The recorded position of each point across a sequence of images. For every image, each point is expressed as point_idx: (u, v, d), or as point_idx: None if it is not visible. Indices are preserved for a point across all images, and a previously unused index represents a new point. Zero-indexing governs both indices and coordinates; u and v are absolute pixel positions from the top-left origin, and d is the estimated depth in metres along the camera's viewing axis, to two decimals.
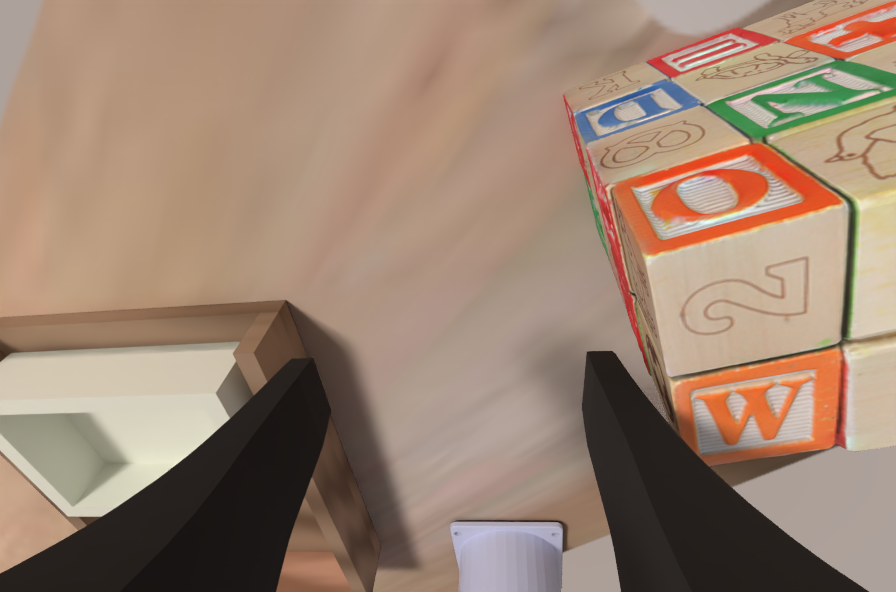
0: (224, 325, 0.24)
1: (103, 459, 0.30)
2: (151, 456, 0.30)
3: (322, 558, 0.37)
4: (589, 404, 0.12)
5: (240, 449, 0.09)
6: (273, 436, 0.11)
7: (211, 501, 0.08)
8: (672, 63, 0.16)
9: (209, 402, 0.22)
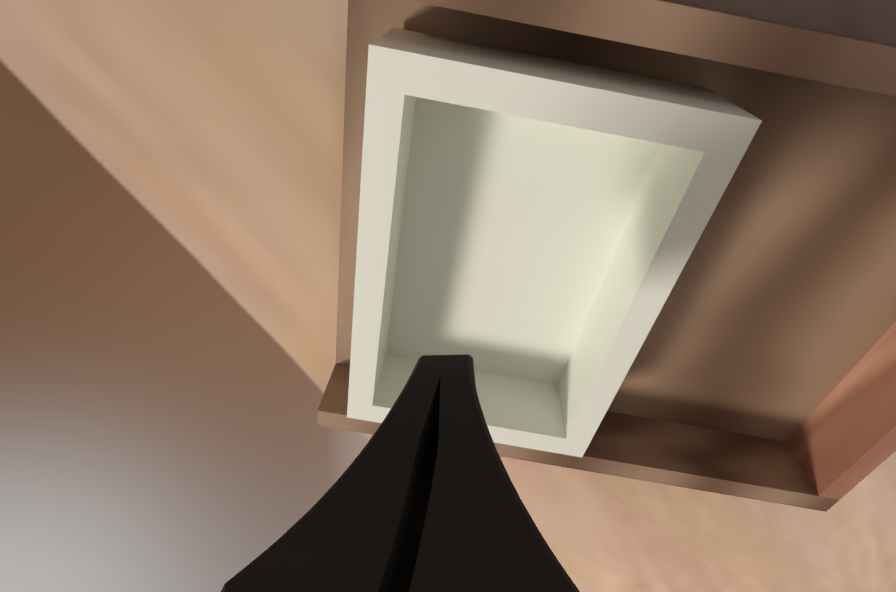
0: (365, 60, 0.16)
1: (549, 383, 0.22)
2: (567, 323, 0.20)
3: None
4: None
5: (414, 449, 0.09)
6: (429, 436, 0.10)
7: (406, 504, 0.08)
8: None
9: (391, 74, 0.12)
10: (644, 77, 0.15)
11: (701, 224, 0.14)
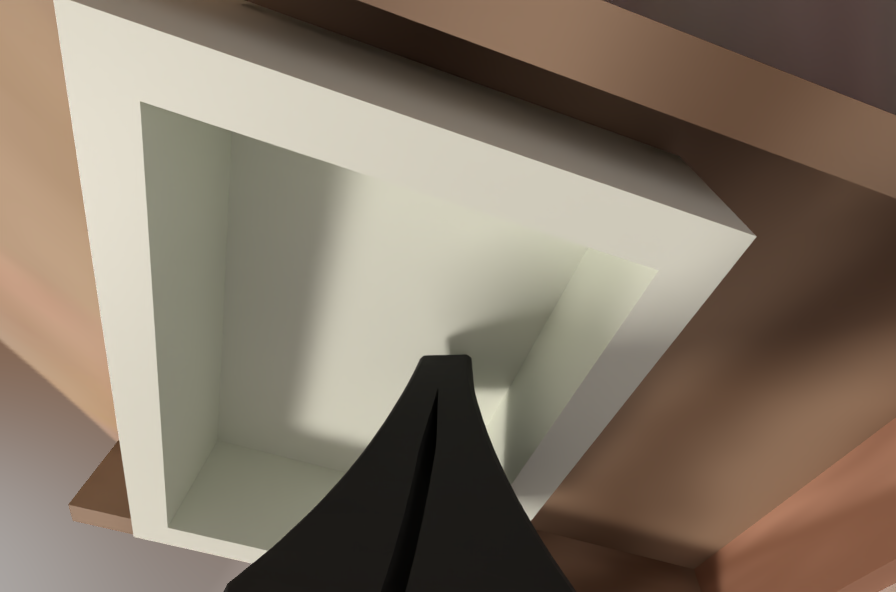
0: None
1: None
2: None
3: None
4: None
5: (416, 449, 0.09)
6: (431, 436, 0.10)
7: (408, 504, 0.08)
8: None
9: (108, 59, 0.06)
10: (587, 125, 0.10)
11: (642, 370, 0.09)
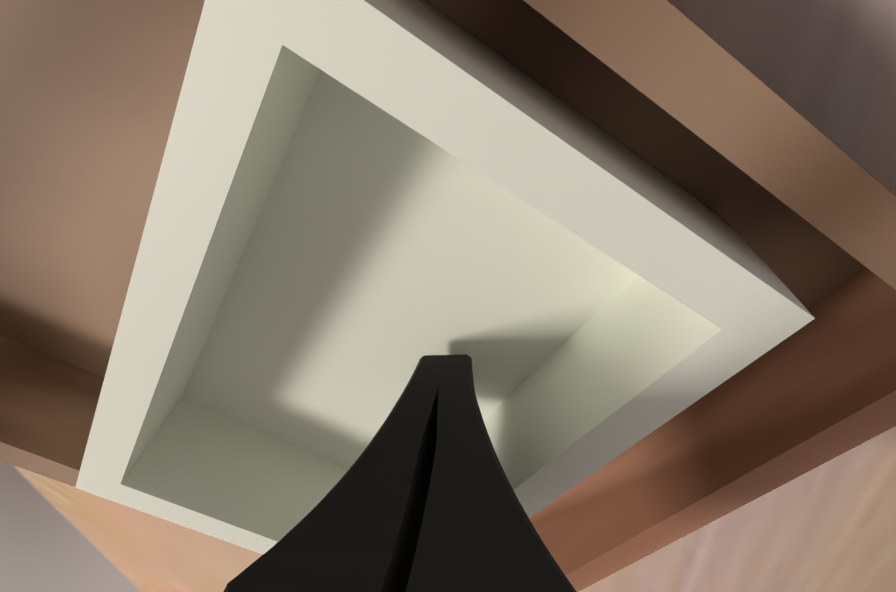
0: None
1: None
2: None
3: (764, 357, 0.13)
4: None
5: (416, 449, 0.09)
6: (431, 435, 0.10)
7: (408, 504, 0.08)
8: None
9: None
10: (659, 173, 0.10)
11: (669, 413, 0.09)
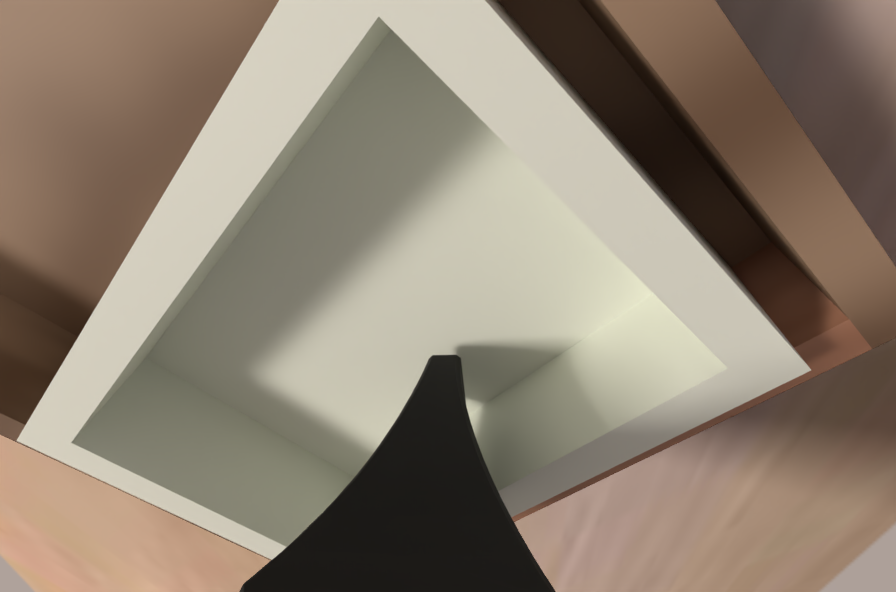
0: None
1: None
2: None
3: None
4: None
5: (428, 449, 0.09)
6: None
7: None
8: None
9: None
10: (680, 210, 0.10)
11: (659, 439, 0.10)
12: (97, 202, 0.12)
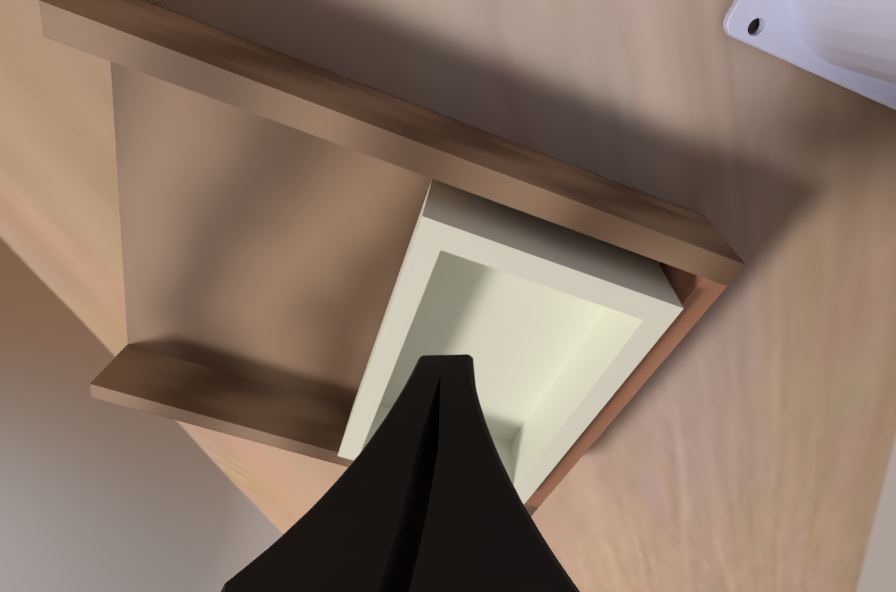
0: (129, 92, 0.18)
1: (503, 441, 0.27)
2: (526, 400, 0.25)
3: None
4: None
5: (414, 449, 0.09)
6: (429, 436, 0.10)
7: (406, 504, 0.08)
8: None
9: (434, 236, 0.16)
10: (611, 244, 0.20)
11: (635, 363, 0.19)
12: (336, 335, 0.24)
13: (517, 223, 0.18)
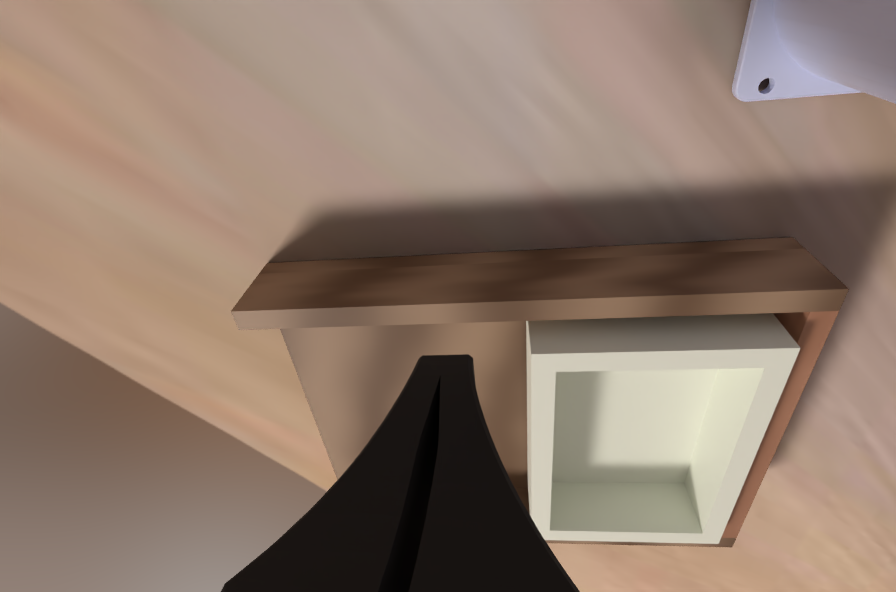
0: None
1: (676, 483, 0.28)
2: (683, 444, 0.26)
3: None
4: None
5: (414, 449, 0.09)
6: (429, 436, 0.10)
7: (406, 504, 0.08)
8: None
9: (546, 364, 0.19)
10: None
11: (774, 402, 0.20)
12: (492, 436, 0.28)
13: (612, 319, 0.20)
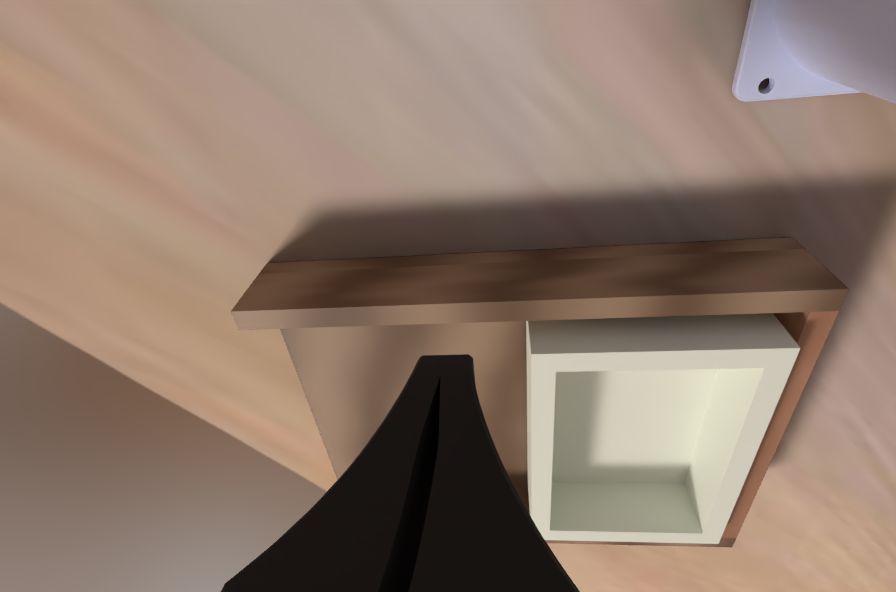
0: None
1: (676, 483, 0.28)
2: (683, 444, 0.26)
3: None
4: None
5: (414, 449, 0.09)
6: (429, 436, 0.10)
7: (406, 504, 0.08)
8: None
9: (546, 364, 0.19)
10: None
11: (774, 402, 0.20)
12: (492, 436, 0.28)
13: (612, 319, 0.20)
